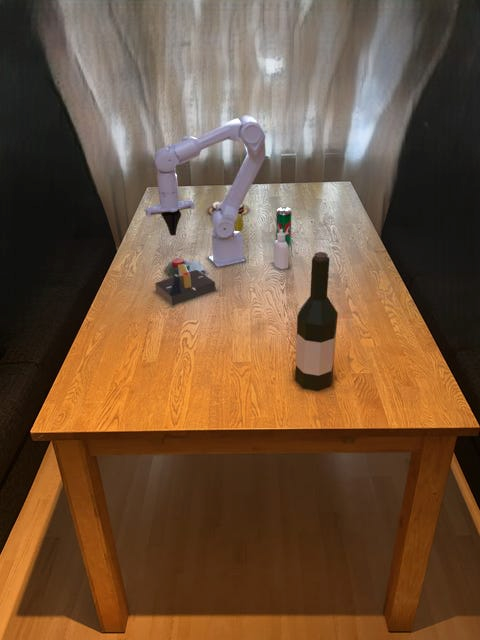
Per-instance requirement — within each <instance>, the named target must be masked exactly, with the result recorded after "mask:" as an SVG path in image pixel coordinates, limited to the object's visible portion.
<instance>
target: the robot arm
mask: <svg viewBox="0 0 480 640" xmlns="http://www.w3.org/2000/svg"><path fill="white" fill-rule="evenodd" d="M240 139H241V141H242V143H243V145H244V148H245V150H246V156H245V158H244V160H243V162H242V164H241V166H240V167H239V170H238V172H237V174H236V176H235V178H234V180H233V182H232V185H231V186H230V188H229V190H228V192H227V194H226V196H225V198H224V199H223V200H224V202H222V203H221V204H220V206H219V208H218V209H217V210H216V211H214V212H213V214H210V215H211V216H210V222H211V224H212V226H213V230H212V232H211V246H212V247H211V249H212V255H210V256H208V259H209V260H210V262H212V263H213V264H214V265H215V266H216V268H221V267H225V266H228V265H229V266H230V265H233V264H238V263H239V264H240V263H243V262H245V261H246V259H245V255H244V254H245V253H244V252H245V251H244V248H245V247H244V238H243V235H242V233H241V231H240V232H239V231H235V223H236V221H237V217H238V210H239V208H240V206H241V204H243V202H244V201H245V198H246V196H247V195H248V193H249V191H250V189H251V186H252V185H253V184H254V181H255V179H256V176H257V175H258V173H259V171H260V169H261V167H262V165H263V163H264V161H265V159H266V157H267V153H266V152H267V151H266V134H265V132H264V129H263V127H262V125H260V123H259V122H257V120H256V119H255V118H254V117H253V116H251V115H243V116H241V117H239V118H234V119H232V120H230V121H228V122H226V123H224V124H222V125H220V126H219V127H216V128H215V129H213V130H211V131H208V132H206V133H205V134H203V135H200V136H199V137H194V136H192V135H191V136H190V135H189V136H187V135H185V136H182V140H179V141H177V142H175V143H173V144H171V143H169V144H167V145H166V147H160V148H158V149H157V150H156V151H155V153H154V158H153V159H154V164H155V167H156V174H157V175H156V181H157V190H158V200H159V204H157V205H154V206H151V207H147V208H145V216H146V217H149V218H150V217H152V216H156V215H161V218H163V220H164V222H165V224H166V227H167V230H168V233H169V235H170V236H171V237H173V236H176V235H177V229H178V224H179V223H180V219H181V217H182V213H181V211H184V210H193V209H195V202H194V201H192V200H186V201H185V200H184V201H180V197H179V186H178V185H179V184H178V176H177V173H176V167H177V166H180V165H182V164H185V163H186V162H188V161H192V160H193V159H196V158H198V157H200V155H201V153H202V150H204V149H207V148H210V147H212V146H214V145H217V144H219V143H222V142H225V141H227V140H228V141H234V142H237V143H239V142H240Z"/></svg>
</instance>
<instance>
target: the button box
mask: <svg viewBox="0 0 480 640" xmlns="http://www.w3.org/2000/svg"><path fill="white" fill-rule="evenodd" d="M184 265H185V267H186V269H187V270H188V272H191V271H194V270H199V271H200V272H201V273H203V274H204V275H206V271H205V269H204V268H203V267H202V265H200V263H199V262H198V261H197V260H190V261H187V260H184ZM165 271H166V272H167V274H168V275H169V276H170V278H172V277H175V274H176V275H177V276H179V272H178V268H175V267H173V266H172V260H171V261H170V262H168V263H167V265H166V266H165Z"/></svg>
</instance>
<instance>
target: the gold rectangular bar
mask: <svg viewBox="0 0 480 640" xmlns="http://www.w3.org/2000/svg"><path fill="white" fill-rule="evenodd" d="M178 272H179V278H180V280H181V282H182V284H183V286H184V287H185V288H191V279H190V274H189V272H188V270H187V269H186V267H185V265H184V264H180V265H178Z"/></svg>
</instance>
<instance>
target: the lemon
mask: <svg viewBox="0 0 480 640" xmlns="http://www.w3.org/2000/svg"><path fill="white" fill-rule="evenodd" d="M242 216H243V215H240V214H238V217H237V221H236V223H235V231H239V232H240V233H241V231H243V228H244V218H243V217H242Z"/></svg>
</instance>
